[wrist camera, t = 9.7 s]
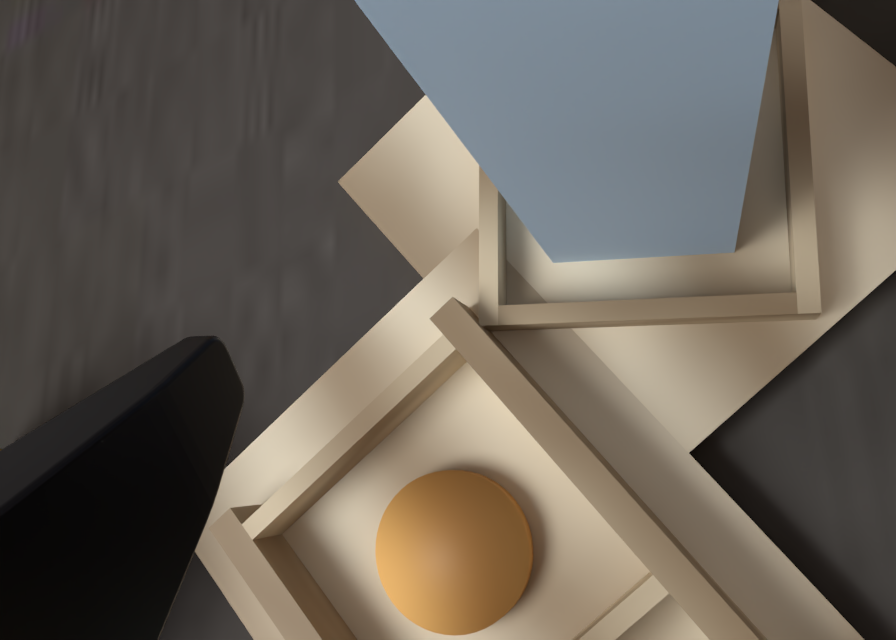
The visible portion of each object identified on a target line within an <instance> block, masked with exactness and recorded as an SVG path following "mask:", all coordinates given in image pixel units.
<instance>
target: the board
mask: <svg viewBox="0 0 896 640" xmlns="http://www.w3.org/2000/svg"><path fill="white" fill-rule="evenodd" d="M338 183H339V184H340V185H341V186H342V187H343V188H344V189H345V191H346V192H347V193H348V194H349V195H350V196H351V197H352V198H353V200H354V201H355V202H356V203H357V204H358V205H359V206H360V207H361V209H362V210H363V211H364V212H365V213H366V214H367V215H368V216H369V218H370V219H371V220H372V221H373V222H374V223H375V224H376V225H377V227H378V228H379V229H380V230H381V231H382V232H383V233H384V234H385V236H386V237H387V238H388V239H389V240H390V241H391V242H392V243H393V245H394V246H395V247H396V248H397V249H398V250H399V251H400V252H401V254H402V255H403V256H404V257H405V258H406V259H407V260H408V261H409V263H410V264H411V265H412V266H413V267H414V268H415V269H416V271H417V272H418V273H419V274H420V275H421V276H422V277H423V278H424V279H423V280H422V281H421V282H420V283H419V284H418V285H417V286H416V287H415V288H413V289H412V290H411V291H410V292H409V293H408V294H407V295H406V296H405V297H404V298H403V299H402V300H401V301H400V302H399V303H398V304H397V305H396V306H395V307H394V308H393V309H392V310H390V311H389V312H388V313H387V314H386V315H385V316H384V317H383V318H382V319H381V320H380V321H379V322H378V323H377V324H376V325H375V326H374V327H373V328H372V329H371V330H370V331H369V332H367V333H366V334H365V335H364V336H363V337H362V338H361V339H360V340H359V341H358V342H357V343H356V344H355V345H354V346H353V347H352V348H351V349H350V350H349V351H348V352H347V353H346V354H344V355H343V356H342V357H341V358H340V359H339V360H338V361H337V362H336V363H335V364H334V365H333V366H332V367H331V368H330V369H329V370H328V371H327V372H326V373H325V374H324V375H323V376H321V377H320V378H319V379H318V380H317V381H316V382H315V383H314V384H313V385H312V386H311V387H310V388H309V389H308V390H307V391H306V392H305V393H304V394H303V395H302V396H301V397H300V398H298V399H297V400H296V401H295V402H294V403H293V404H292V405H291V406H290V407H289V408H288V409H287V410H286V411H285V412H284V413H283V414H282V415H281V416H280V417H279V418H278V419H277V420H275V421H274V422H273V423H272V424H271V425H270V426H269V427H268V428H267V429H266V430H265V431H264V432H263V433H262V434H261V435H260V436H259V437H258V438H257V439H256V440H255V441H254V442H252V443H251V444H250V445H249V446H248V447H247V448H246V449H245V450H244V451H243V452H242V453H241V454H240V455H239V456H238V457H237V458H236V459H235V460H234V461H233V462H232V463H231V464H229V465H228V466H227V467H226V468H225V469H224V472H223V476H222V479H221V483H220V486H219V489H218V492H217V495H216V498H215V501H214V504H213V507H212V510H211V512H210V515H209V518H208V520H207V523H206V525H205V528H204V530H203V533H202V535H201V537H200V540H199V542H198V545H197V547H196V550H195V552H196V554H197V555H198V557H199V558H200V560H201V561H202V563H203V564H204V566H205V567H206V569H207V570H208V572H209V573H210V575H211V576H212V578H213V579H214V581H215V582H216V584H217V585H218V587H219V588H220V590H221V591H222V593H223V594H224V596H225V597H226V599H227V600H228V602H229V603H230V605H231V606H232V608H233V609H234V611H235V612H236V614H237V615H238V617H239V618H240V620H241V621H242V623H243V624H244V626H245V627H246V629H247V630H248V631H249V633H250V634H251V636H252V637H253V639H254V640H864V638H863V637H862V636H861V635H860V634H859V633H858V632H857V631H856V630H855V629H854V628H853V627H852V626H851V625H850V624H849V623H848V621H847V620H846V619H845V618H844V617H843V616H842V615H841V614H840V613H839V612H838V611H837V610H836V609H835V608H834V607H833V606H832V605H831V603H830V602H829V601H828V600H827V599H826V598H825V597H824V596H823V595H822V594H821V593H820V592H819V591H818V590H817V589H816V588H815V586H814V585H813V584H812V583H811V582H810V581H809V580H808V579H807V578H806V577H805V576H804V575H803V574H802V573H801V572H800V571H799V569H798V568H797V567H796V566H795V565H794V564H793V563H792V562H791V561H790V560H789V559H788V558H787V557H786V556H785V555H784V554H783V552H782V551H781V550H780V549H779V548H778V547H777V546H776V545H775V544H774V543H773V542H772V541H771V540H770V539H769V538H768V537H767V535H766V534H765V533H764V532H763V531H762V530H761V529H760V528H759V527H758V526H757V525H756V524H755V523H754V522H753V521H752V520H751V518H750V517H749V516H748V515H747V514H746V513H745V512H744V511H743V510H742V509H741V508H740V507H739V506H738V505H737V504H736V503H735V501H734V500H733V499H732V498H731V497H730V496H729V495H728V494H727V493H726V492H725V491H724V490H723V489H722V488H721V487H720V486H719V484H718V483H717V482H716V481H715V480H714V479H713V478H712V477H711V476H710V475H709V474H708V473H707V472H706V471H705V470H704V469H703V467H702V466H701V465H700V464H699V463H698V462H697V461H696V460H695V459H694V458H693V457H692V456H691V455H690V454H689V453H690V452H691V451H692V450H693V449H694V448H695V447H696V446H697V445H699V444H700V443H701V442H702V441H703V440H704V439H705V438H707V437H708V436H709V435H710V434H711V433H712V432H713V431H714V430H716V429H717V428H718V427H719V426H720V425H721V424H722V423H724V422H725V421H726V420H727V419H728V418H729V417H730V416H731V415H733V414H734V413H735V412H736V411H737V410H738V409H739V408H741V407H742V406H743V405H744V404H745V403H746V402H747V401H748V400H750V399H751V398H752V397H753V396H754V395H755V394H756V393H757V392H759V391H760V390H761V389H762V388H763V387H764V386H765V385H767V384H768V383H769V382H770V381H771V380H772V379H773V378H774V377H776V376H777V375H778V374H779V373H780V372H781V371H782V370H784V369H785V368H786V367H787V366H788V365H789V364H790V363H791V362H793V361H794V360H795V359H796V358H797V357H798V356H799V355H801V354H802V353H803V352H804V351H805V350H806V349H807V348H808V347H810V346H811V345H812V344H813V343H814V342H815V341H816V340H818V339H819V338H820V337H821V336H822V335H823V334H824V333H825V332H827V331H828V330H829V329H830V328H831V327H832V326H833V325H834V324H836V323H837V322H838V321H839V320H840V319H841V318H842V317H844V316H845V315H846V314H847V313H848V312H849V311H850V310H851V309H853V308H854V307H855V306H856V305H857V304H858V303H859V302H861V301H862V300H863V299H864V298H865V297H866V296H867V295H868V294H870V293H871V292H872V291H873V290H874V289H875V288H876V287H878V286H879V285H880V284H881V283H882V282H883V281H884V280H885V279H887V278H888V277H889V276H890V275H891V274H892V273H893V272H894V271H896V67H895V66H894V65H893V64H892V63H890V62H889V61H888V60H886V59H885V58H884V57H883V56H881V55H880V54H879V53H878V52H876V51H875V50H874V49H872V48H871V47H870V46H869V45H867V44H866V43H865V42H863V41H862V40H861V39H860V38H858V37H857V36H856V35H854V34H853V33H852V32H851V31H849V30H848V29H847V28H845V27H844V26H843V25H842V24H840V23H839V22H838V21H837V20H835V19H834V18H833V17H831V16H830V15H829V14H828V13H826V12H825V11H824V10H822V9H821V8H820V7H819V6H817V5H816V4H815V3H813V2H812V1H811V0H779V2H778V8H777V14H776V19H775V25H774V31H773V36H772V42H771V48H770V53H769V59H768V65H767V70H766V76H765V82H764V87H763V93H762V99H761V105H760V110H759V116H758V122H757V127H756V133H755V139H754V144H753V150H752V156H751V161H750V167H749V173H748V178H747V184H746V190H745V195H744V201H743V207H742V213H741V218H740V224H739V230H738V235H737V241H736V247H735V252H734V253H717V254H700V255H683V256H665V257H648V258H631V259H614V260H597V261H579V262H562V263H553V262H552V261H551V259H550V258H549V257H548V256H547V254H546V253H545V252H544V250H543V249H542V248H541V246H540V245H539V244H538V242H537V241H536V240H535V238H534V237H533V236H532V234H531V233H530V232H529V230H528V229H527V228H526V226H525V225H524V224H523V222H522V221H521V220H520V219H519V217H518V216H517V215H516V213H515V212H514V211H513V209H512V208H511V207H510V205H509V204H508V203H507V201H506V200H505V199H504V197H503V196H502V195H501V193H500V192H499V191H498V189H497V188H496V187H495V185H494V184H493V183H492V182H491V180H490V179H489V178H488V176H487V175H486V174H485V172H484V171H483V170H482V168H481V167H480V166H479V164H478V163H477V162H476V160H475V159H474V158H473V156H472V155H471V154H470V152H469V151H468V150H467V148H466V147H465V146H464V145H463V143H462V142H461V141H460V139H459V138H458V137H457V135H456V134H455V133H454V131H453V130H452V129H451V127H450V126H449V125H448V123H447V122H446V121H445V119H444V118H443V117H442V115H441V114H440V113H439V111H438V110H437V109H436V108H435V106H434V105H433V104H432V102H431V101H430V100H429V98H428V97H427V96H426V95H425V96H424V97H423V98H422V99H421V100H420V101H419V102H418V103H417V104H416V105H415V106H414V107H413V108H412V109H411V110H410V111H409V112H408V113H407V114H406V115H405V116H404V117H403V118H402V119H401V120H400V121H399V122H398V123H397V124H396V125H395V126H394V127H393V128H392V129H391V130H390V131H389V132H388V133H387V134H386V135H385V136H384V137H383V138H382V139H381V140H380V141H379V142H378V143H377V144H376V145H375V146H374V147H373V148H372V149H371V150H370V151H368V152H367V153H366V154H365V155H364V156H363V157H362V158H361V159H360V160H359V161H358V162H357V163H356V164H355V165H354V166H353V167H352V168H351V169H350V170H349V171H348V172H347V173H346V174H345V175H344V176H343V177H342V178H341V179H340V180H339V181H338Z"/></svg>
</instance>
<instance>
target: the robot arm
mask: <svg viewBox="0 0 896 640" xmlns="http://www.w3.org/2000/svg"><path fill="white" fill-rule="evenodd" d="M243 403H244V388H243V384H242V381H241V379H240V377H239V375H238V372H237V370H236V368H235V366H234V363H233V361H232V359H231V357H230V354H229V352H228V350H227V347H226V345H225V344H224V342H223V341H222V340H221V339H220V338H218V337H216V336H194V337H188V338H185V339H183V340H182V341H180V342H178V343H177V344H175V345H173V346H172V347H170V348H168V349H167V350H165V351H163V352H162V353H160V354H159V355H157V356H155V357H154V358H152V359H150V360H149V361H147V362H145V363H144V364H142V365H140V366H139V367H137V368H135V369H134V370H132V371H131V372H129V373H127V374H126V375H124V376H122V377H121V378H119V379H117V380H116V381H114V382H112V383H111V384H109V385H107V386H106V387H104V388H103V389H101V390H99V391H98V392H96V393H94V394H93V395H91V396H89V397H88V398H86V399H84V400H83V401H81V402H79V403H78V404H76V405H75V406H73V407H71V408H70V409H68V410H66V411H65V412H63V413H61V414H60V415H58V416H56V417H55V418H53V419H51V420H50V421H48V422H47V423H45V424H43V425H42V426H40V427H38V428H37V429H35V430H33V431H32V432H30V433H28V434H27V435H25V436H24V437H22V438H20V439H19V440H17V441H15V442H14V443H12V444H10V445H9V446H7V447H5V448H4V449H2V450H0V640H158V639H159V637H160V634H161V632H162V630H163V627H164V625H165V622H166V620H167V617H168V615H169V613H170V610H171V608H172V605H173V603H174V600H175V598H176V596H177V593H178V591H179V588H180V586H181V584H182V581H183V579H184V576H185V574H186V571H187V569H188V567H189V564H190V562H191V559H192V557H193V554H194V552H195V550H196V547H197V545H198V542H199V540H200V537H201V535H202V533H203V530H204V528H205V525H206V523H207V520H208V518H209V515H210V512H211V510H212V507H213V504H214V501H215V498H216V495H217V492H218V489H219V486H220V483H221V479H222V476H223V472H224V469H225V465H226V462H227V459H228V455H229V452H230V448H231V445H232V441H233V438H234V435H235V431H236V428H237V424H238V421H239V418H240V414H241V411H242V407H243Z"/></svg>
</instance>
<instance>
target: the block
mask: <svg viewBox="0 0 896 640" xmlns="http://www.w3.org/2000/svg"><path fill="white" fill-rule="evenodd" d="M355 2H356V3H357V4H358V6H359V7H360V8H361V10H362V11H363V12H364V14H365V15H366V16H367V18H368V19H369V20H370V22H371V23H372V24H373V26H374V27H375V28H376V30H377V31H378V32H379V34H380V35H381V36H382V37H383V39H384V40H385V41H386V43H387V44H388V45H389V47H390V48H391V49H392V51H393V52H394V53H395V55H396V56H397V57H398V59H399V60H400V61H401V63H402V64H403V65H404V67H405V68H406V69H407V71H408V72H409V73H410V74H411V76H412V77H413V78H414V80H415V81H416V82H417V84H418V85H419V86H420V88H421V89H422V90H423V92H424V93H425V94H426V96H427V97H428V98H429V100H430V101H431V102H432V104H433V105H434V106H435V108H436V109H437V110H438V111H439V113H440V114H441V115H442V117H443V118H444V119H445V121H446V122H447V123H448V125H449V126H450V127H451V129H452V130H453V131H454V133H455V134H456V135H457V137H458V138H459V139H460V141H461V142H462V143H463V145H464V146H465V147H466V148H467V150H468V151H469V152H470V154H471V155H472V156H473V158H474V159H475V160H476V162H477V163H478V164H479V166H480V167H481V168H482V170H483V171H484V172H485V174H486V175H487V176H488V178H489V179H490V180H491V182H492V183H493V184H494V185H495V187H496V188H497V189H498V191H499V192H500V193H501V195H502V196H503V197H504V199H505V200H506V201H507V203H508V204H509V205H510V207H511V208H512V209H513V211H514V212H515V213H516V215H517V216H518V217H519V219H520V220H521V221H522V222H523V224H524V225H525V226H526V228H527V229H528V230H529V232H530V233H531V234H532V236H533V237H534V238H535V240H536V241H537V242H538V244H539V245H540V246H541V248H542V249H543V250H544V252H545V253H546V254H547V256H548V257H549V258H550V259H551V261H552V262H553V263H562V262H579V261H597V260H614V259H631V258H648V257H665V256H683V255H700V254H717V253H734V252H735V247H736V241H737V235H738V230H739V224H740V218H741V213H742V207H743V201H744V195H745V190H746V184H747V178H748V173H749V167H750V161H751V156H752V150H753V144H754V139H755V133H756V127H757V122H758V116H759V110H760V105H761V99H762V93H763V87H764V82H765V76H766V70H767V65H768V59H769V53H770V48H771V42H772V36H773V31H774V25H775V19H776V14H777V8H778V2H779V0H355Z"/></svg>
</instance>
